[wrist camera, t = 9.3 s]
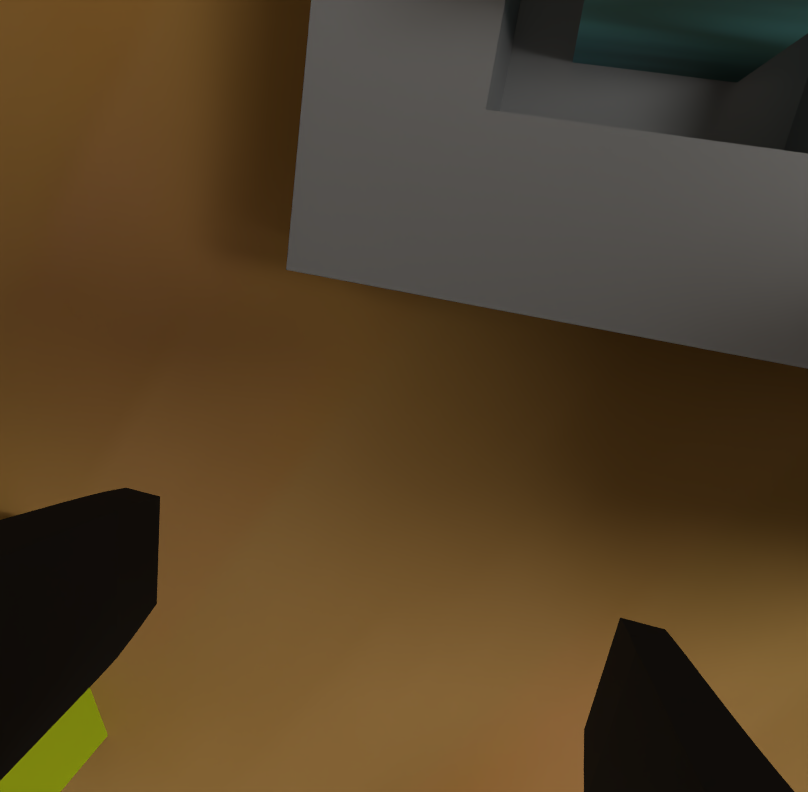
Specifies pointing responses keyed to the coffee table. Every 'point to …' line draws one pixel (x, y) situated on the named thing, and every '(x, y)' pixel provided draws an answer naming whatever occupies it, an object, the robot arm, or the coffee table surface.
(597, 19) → the teal peg
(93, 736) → the puzzle toy
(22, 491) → the coffee table surface
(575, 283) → the well block
